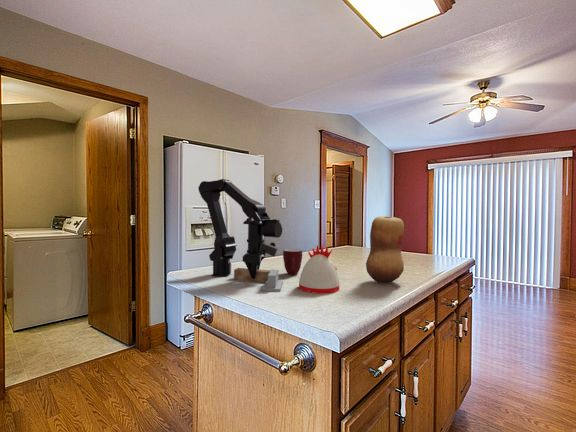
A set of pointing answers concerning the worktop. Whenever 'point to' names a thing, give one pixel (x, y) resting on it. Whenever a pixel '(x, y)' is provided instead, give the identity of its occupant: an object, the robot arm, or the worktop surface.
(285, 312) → the worktop surface
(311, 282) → the kitchen timer
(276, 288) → the ridge block
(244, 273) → the walnut bar
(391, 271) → the butternut squash
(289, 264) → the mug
